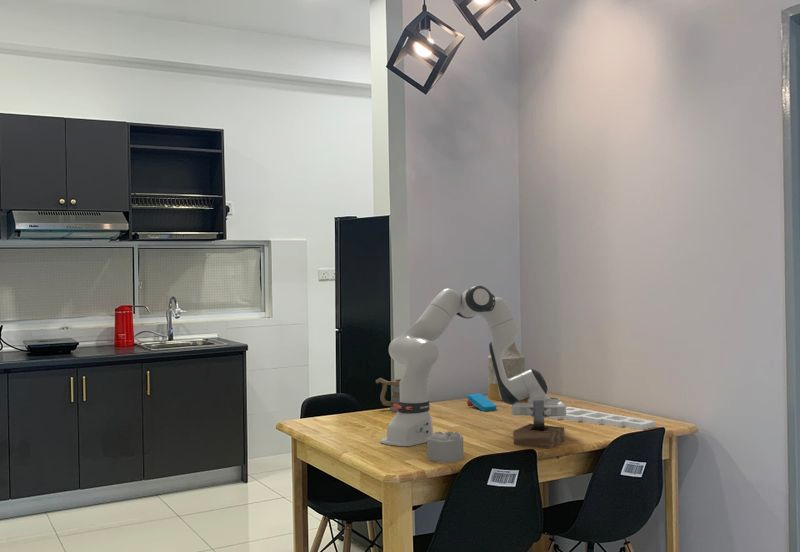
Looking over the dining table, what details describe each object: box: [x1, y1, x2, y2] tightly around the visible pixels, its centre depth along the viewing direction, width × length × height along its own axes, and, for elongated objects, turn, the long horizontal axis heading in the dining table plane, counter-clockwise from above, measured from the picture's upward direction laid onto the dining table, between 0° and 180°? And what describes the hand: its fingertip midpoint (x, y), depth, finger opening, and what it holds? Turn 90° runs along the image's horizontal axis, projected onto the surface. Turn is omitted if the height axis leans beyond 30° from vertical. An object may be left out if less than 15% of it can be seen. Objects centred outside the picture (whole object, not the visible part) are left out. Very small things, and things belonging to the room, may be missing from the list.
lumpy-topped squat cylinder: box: [426, 430, 465, 464], centre depth 258 cm, size 10×13×9 cm
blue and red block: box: [466, 392, 497, 412], centre depth 351 cm, size 7×7×18 cm
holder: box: [547, 406, 656, 431], centre depth 314 cm, size 45×18×3 cm, turn 36°
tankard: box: [375, 377, 402, 413], centre depth 350 cm, size 20×13×15 cm, turn 74°
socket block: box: [513, 423, 566, 449], centre depth 278 cm, size 14×14×5 cm
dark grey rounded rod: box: [532, 400, 545, 431], centre depth 278 cm, size 4×4×13 cm
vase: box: [487, 340, 526, 402], centre depth 377 cm, size 18×18×30 cm
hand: (538, 413), depth 277 cm, fingers closed on dark grey rounded rod, 4 cm apart
